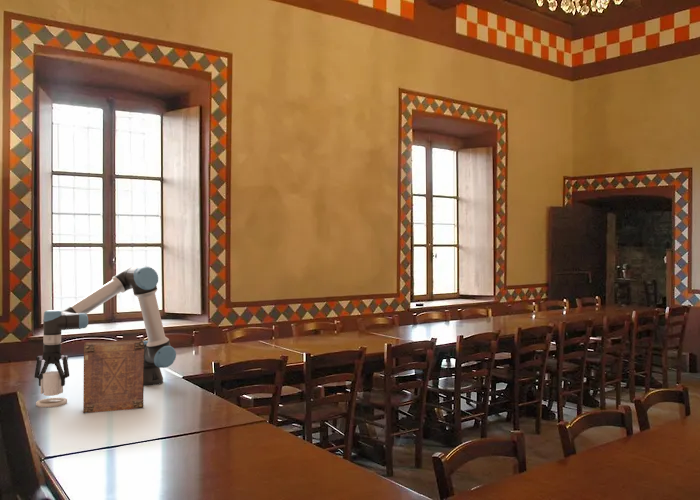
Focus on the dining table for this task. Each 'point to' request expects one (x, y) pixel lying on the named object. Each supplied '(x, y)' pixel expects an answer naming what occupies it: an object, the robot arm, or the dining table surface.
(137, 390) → the book
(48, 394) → the white cup
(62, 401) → the beige saucer
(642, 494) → the dining table surface
